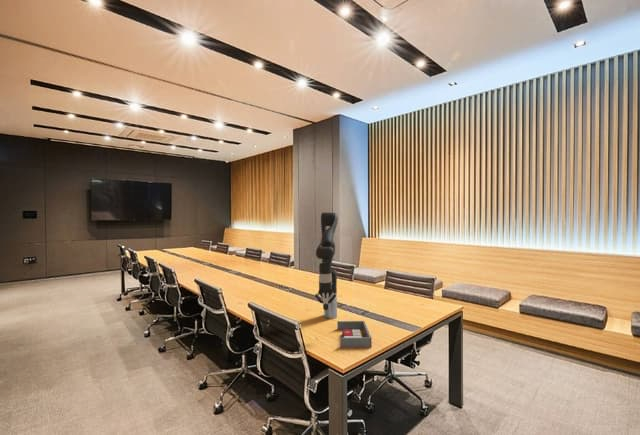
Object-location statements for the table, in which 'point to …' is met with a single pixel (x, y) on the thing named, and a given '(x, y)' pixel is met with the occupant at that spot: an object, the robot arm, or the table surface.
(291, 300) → the table surface
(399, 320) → the table surface
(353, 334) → the calculator
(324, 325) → the table surface
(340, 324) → the box
